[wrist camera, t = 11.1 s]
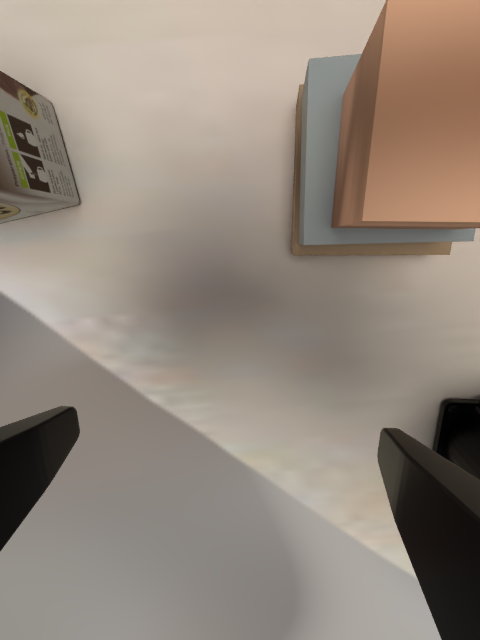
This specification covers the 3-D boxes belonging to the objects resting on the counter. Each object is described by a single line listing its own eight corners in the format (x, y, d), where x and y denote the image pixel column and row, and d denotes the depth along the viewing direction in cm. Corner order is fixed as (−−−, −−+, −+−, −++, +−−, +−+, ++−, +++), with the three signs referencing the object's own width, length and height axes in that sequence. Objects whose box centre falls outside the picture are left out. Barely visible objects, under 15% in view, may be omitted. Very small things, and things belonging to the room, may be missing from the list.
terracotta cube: (453, 229, 13) (562, 222, 8) (331, 227, 13) (362, 220, 8) (479, 90, 11) (630, -20, 7) (343, 95, 12) (388, -3, 7)
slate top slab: (436, 240, 16) (473, 241, 13) (298, 244, 16) (303, 245, 13) (458, 82, 14) (506, 40, 11) (302, 94, 15) (308, 58, 12)
